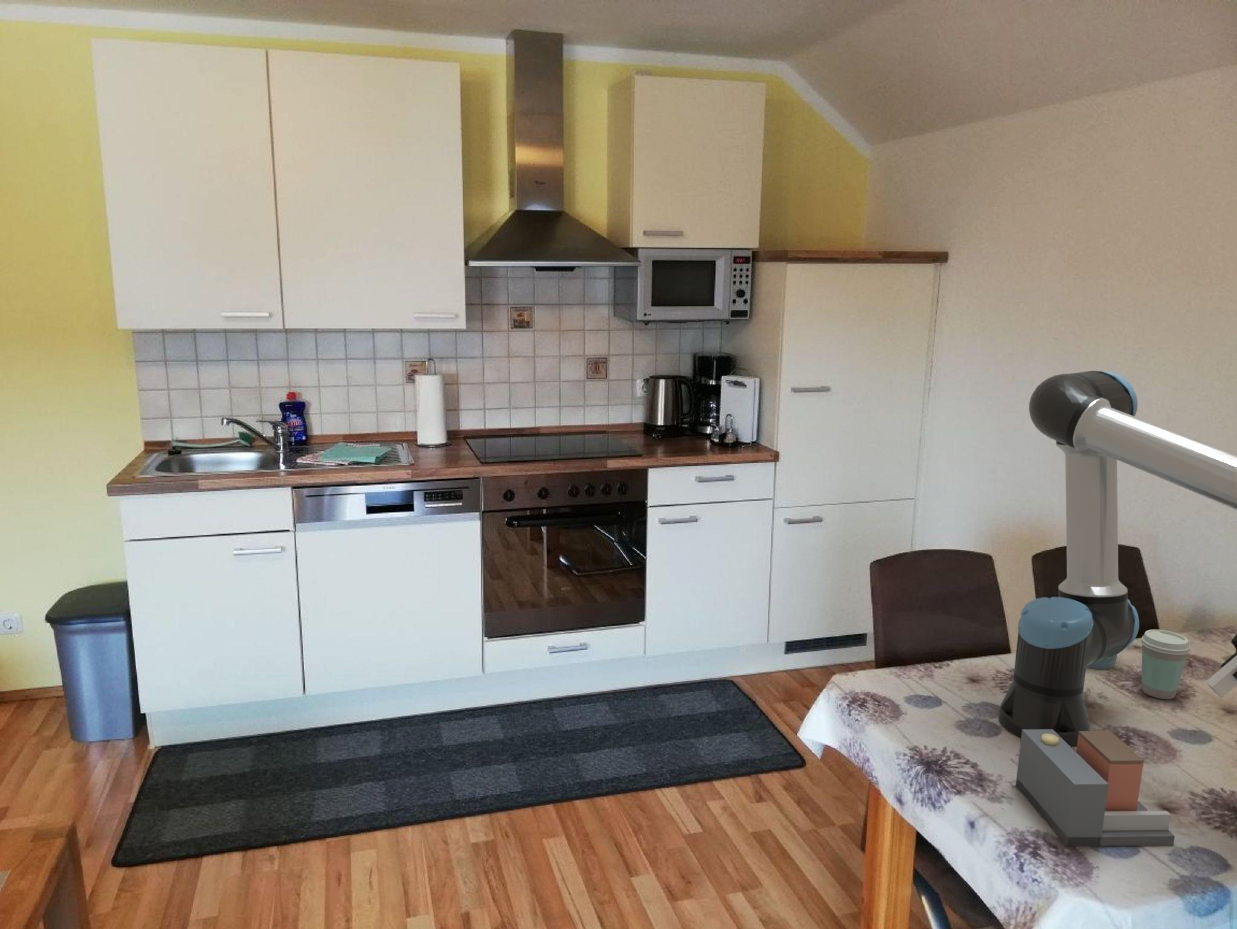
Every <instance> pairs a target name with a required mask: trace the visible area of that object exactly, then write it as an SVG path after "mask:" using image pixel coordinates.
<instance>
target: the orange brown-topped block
mask: <svg viewBox="0 0 1237 929" xmlns="http://www.w3.org/2000/svg"><path fill="white" fill-rule="evenodd" d="M1075 752H1076V753H1077V754H1078V755H1079V756H1080V757H1081V758H1082V759H1084V760H1085V761H1086V762H1087V763H1088V764H1089V765H1090V766H1091V767H1092V768H1093V769H1094V770H1095V771H1096V772H1097V773H1098V774H1099V775H1100V776H1101V777H1102V778H1103V779H1104V780H1105V781H1106V782H1107V783H1108V784H1109V786H1108V793H1107V800H1106V807H1105V811H1137V804H1138V801H1139V796H1140V789H1141V783H1142V782H1141V781H1142V775H1143V768H1144V762H1145V760H1144V759H1143V758H1141V756H1139V755H1138V754H1137V753H1136V752H1135V751H1134V750H1133V749H1132V748H1130V747H1129V746H1128V745H1127V744H1126V743H1125V742H1124V741H1122V740H1121V739H1120V738H1119V737H1118V736H1117V735H1116V734H1114V733H1113V732H1112V731H1110V730H1089V731H1079V734H1078V742H1077V745H1076V750H1075Z"/></svg>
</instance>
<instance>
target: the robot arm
mask: <svg viewBox="0 0 1237 929" xmlns="http://www.w3.org/2000/svg"><path fill="white" fill-rule="evenodd" d="M1028 411H1029V417H1030V419H1031V422H1032V424H1033V425H1034V426H1035V428H1036V429H1037V430H1038V431H1039V432H1040V433H1041V434H1043V435H1044V436H1046V437H1048V438H1050V439H1051V440H1054V441H1056V442H1055V446H1056V447H1058V448H1059V449H1060V450H1061V451H1062V452H1063V453H1064V457H1065V460H1064V461H1065V462H1064V463H1065V467H1064V468H1065V508H1066V509H1065V515H1066V516H1065V518H1066V519H1065V520H1066V522H1065V523H1066V526H1065V527H1066V528H1065V529H1066V532H1065V534H1066V578H1065V579H1064V580H1063V581H1062V582H1061V583H1059V584H1058V586H1057V587H1058V589H1057V590H1058V596H1051V597H1046V596H1045V597H1039V598H1035V599H1033V600H1030V601H1028V602H1027V603H1026V604H1025V605H1024V606H1023V607H1022V609H1021V613H1020V617H1019V620H1018V623H1017V630H1018V631H1017V638H1016V639H1017V642H1016V649H1015V650H1016V651H1015V658H1014V670H1013V678H1012V682H1011V683H1010V686H1009V687H1008V690H1007V691H1006V694H1005V695H1004V697H1003V699H1002V701H1001V703H1000V705H999V709H998V710H999V711H998V712H999V713H998V721H999V722H1000V724H1001V726H1002V727H1003V728H1004V729H1005V730H1007V731H1008V732H1010V733H1011V734H1013V735H1014V736H1017V737H1019V738H1021V735H1022V729H1053V730H1054V731H1055V732H1056V733H1057V734H1058V735H1059V736H1060V737H1061V738H1062V739H1063V740H1064V741H1065V742H1066V743H1067V744H1068V745H1069V746H1070V747H1072V746H1073V747H1074V746H1077V742H1078V734H1079V731H1090V724H1091V723H1090V719H1089V714H1088V710H1087V707H1086V703H1085V702H1086V701H1085V697H1084V689H1085V688H1084V687H1085V682H1086V681H1085V680H1086V671H1087V668H1088V667H1087V666H1088V665H1090V664H1093V663H1095V662H1097V661H1099V660H1102V659H1104V658H1106V657H1111V656H1114V655H1116V654H1117V655H1118V654H1120V653H1121V652H1124V650H1125V649H1127V648H1128V647H1129V646H1131V644H1133V642H1134V641H1135V640H1136V637H1137V636H1138V632H1139V629H1140V620H1139V613H1138V611H1137V609H1136V607H1135V606H1134V605H1132V604H1131V601H1130V599H1128V598H1129V597H1128V596H1129V594H1128V593H1129V592H1128V591H1129V590H1128V588H1127V586H1125V585H1124V584H1123V583H1122V582H1121V581H1120V580H1119V536H1118V535H1119V530H1118V528H1119V526H1118V521H1119V520H1118V519H1119V518H1118V516H1119V515H1118V513H1119V512H1118V508H1119V507H1118V461H1120V462H1121V463H1124V464H1125V465H1129V466H1131V467H1134V468H1135V469H1138V470H1140V471H1144V472H1145V473H1148V474H1150V475H1152V476H1154V477H1157V478H1159V479H1162V480H1164V481H1166V482H1169V483H1172V484H1174V485H1176V486H1179V487H1181V488H1183V489H1186V490H1188V491H1190V492H1193V493H1195V494H1198V495H1200V496H1203V497H1205V498H1207V499H1209V500H1211V501H1215V502H1216V503H1219V504H1221V505H1224V506H1225V507H1228V508H1231V509H1233V510H1235V511H1237V454H1233V453H1232V452H1229V451H1226V450H1224V449H1220V448H1219V447H1215V446H1214V445H1211V444H1208V443H1205V442H1202V441H1200V440H1197V439H1195V438H1192V437H1190V436H1187V435H1184V434H1181V433H1178V432H1176V431H1173V430H1171V429H1169V428H1166V427H1163V426H1160V425H1157V424H1156V423H1153V422H1149V421H1148V420H1145V419H1142V418H1139V417H1137V416H1136V414H1137V412H1138V397H1137V394H1136V391H1135V390H1134V387H1133V386H1132V385H1131V384H1130V382H1129V381H1127V380H1126V379H1125V377H1122V376H1121V375H1119V374H1117V373H1115V372H1111V371H1104V370H1103V371H1102V370H1089V371H1087V370H1086V371H1079V372H1075V373H1074V372H1072V373H1060V374H1056V375H1055V374H1054V375H1053V376H1050V377H1048V378H1046V379H1045V380H1043V381H1042V382H1040V384H1039V385H1037V386H1036V388H1035V389H1034V390H1033V392H1032V394H1031V396H1030V399H1029V402H1028ZM1230 643H1231V644H1232V645H1233V647H1234V649H1235V652H1234V654H1232V655H1231V656H1229V658H1228V659H1226V660H1225V661H1223V663H1222V664H1221V665H1220V669H1219V670H1218V671H1217V672H1215V673H1214V674H1213V675H1212V676H1210V677H1209V678H1208V679H1207V680H1206V681H1205V684H1206V685H1207V686H1208V687H1209V688H1210V689H1211V690H1212V691H1213V692H1214V693H1215V694H1216V695H1218V696H1219V697H1220V698H1224V697H1225V696H1227V694H1228V693H1229V692H1231V691H1232V690H1234V689H1235V687H1237V633H1236V634H1235V635H1234V637H1233V638H1232V639H1231V642H1230Z"/></svg>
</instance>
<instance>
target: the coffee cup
mask: <svg viewBox="0 0 1237 929" xmlns="http://www.w3.org/2000/svg"><path fill="white" fill-rule="evenodd" d="M1140 644H1141V691H1142V692H1143V693H1144V694H1146V695H1148V696H1150V697H1153V698H1156V699H1160V700H1161V699H1162V700H1173V699H1174V698H1176V695H1177V693H1178V692H1177V691H1178V688H1179V685H1180V681H1181V678H1182V675H1183V671H1184V669H1185V665H1186V662H1187V657H1188V654H1190V653H1191V650H1192V649H1191V645H1190V641H1189V639H1188V638H1187V637H1186V636H1184V635H1182V634H1180V633H1177V632H1174V631H1172V630H1164V629H1149V630H1146V631H1145V632H1144V634H1143V635H1142V637H1141V639H1140Z"/></svg>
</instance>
